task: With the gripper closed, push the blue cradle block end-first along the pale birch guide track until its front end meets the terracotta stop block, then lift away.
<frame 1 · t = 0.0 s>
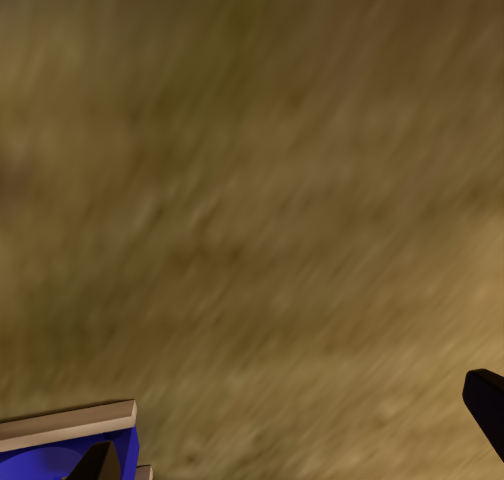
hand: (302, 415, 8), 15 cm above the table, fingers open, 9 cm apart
blue cradle block: (58, 449, 26), resting in guide track
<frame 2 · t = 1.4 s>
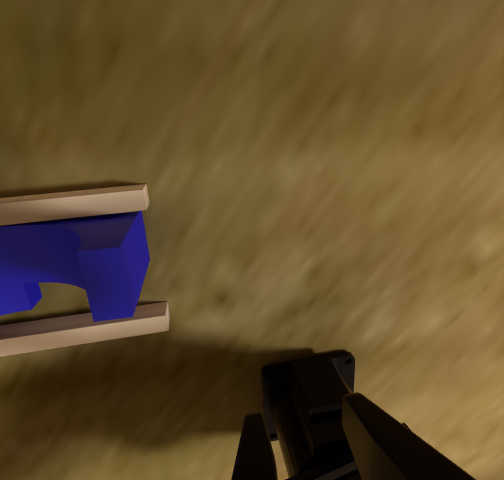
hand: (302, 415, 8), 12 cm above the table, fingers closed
blue cradle block: (33, 256, 18), resting in guide track
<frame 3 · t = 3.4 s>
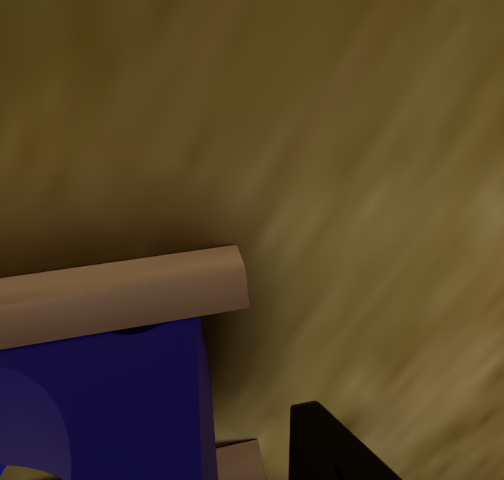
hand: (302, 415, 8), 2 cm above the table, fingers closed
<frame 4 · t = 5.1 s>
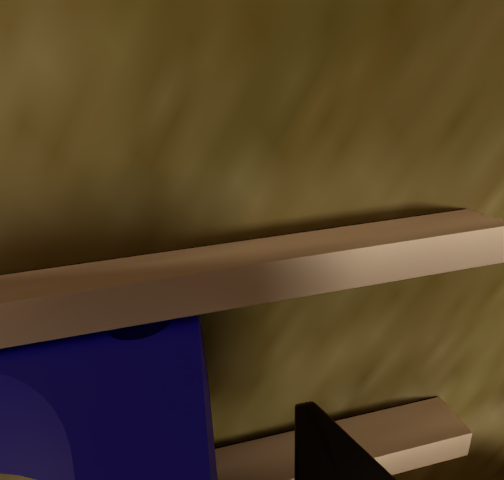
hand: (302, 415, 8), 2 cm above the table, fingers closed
guide track: (89, 398, 9), on the table
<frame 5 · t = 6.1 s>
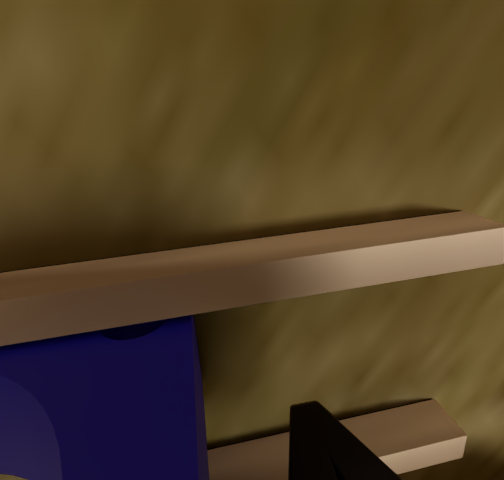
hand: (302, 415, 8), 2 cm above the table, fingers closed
guide track: (82, 398, 9), on the table
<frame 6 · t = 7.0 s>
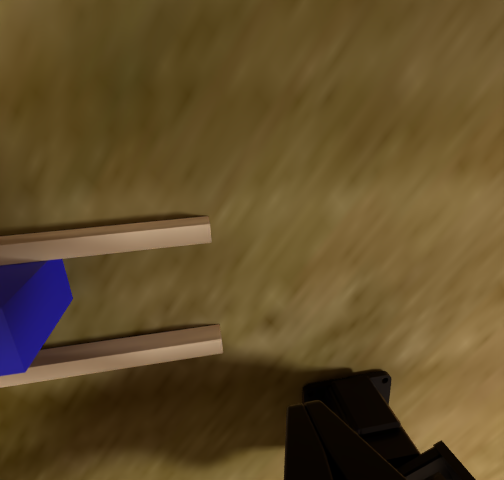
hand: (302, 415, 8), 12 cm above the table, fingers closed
guide track: (8, 306, 18), on the table
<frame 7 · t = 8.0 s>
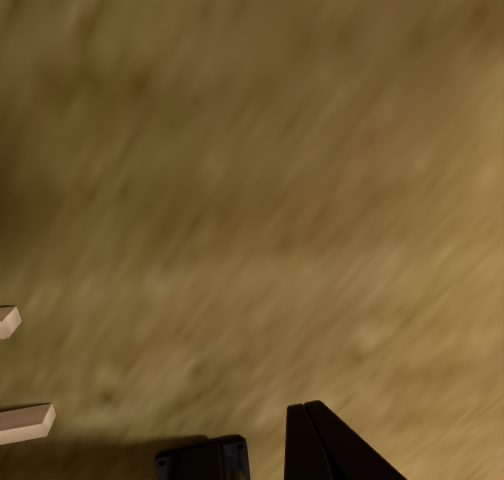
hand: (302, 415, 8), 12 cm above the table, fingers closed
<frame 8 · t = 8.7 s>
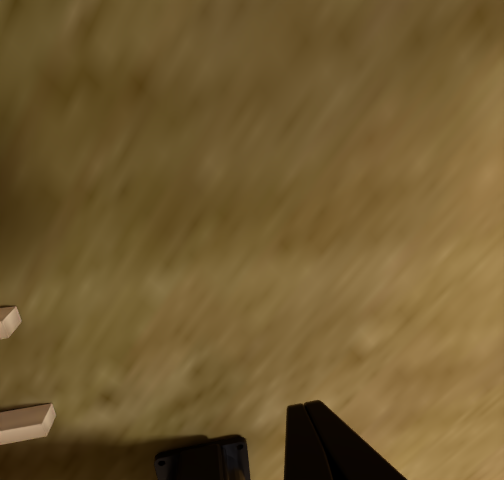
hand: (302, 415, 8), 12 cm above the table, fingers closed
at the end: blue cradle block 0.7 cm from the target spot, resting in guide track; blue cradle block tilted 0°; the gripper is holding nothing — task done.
